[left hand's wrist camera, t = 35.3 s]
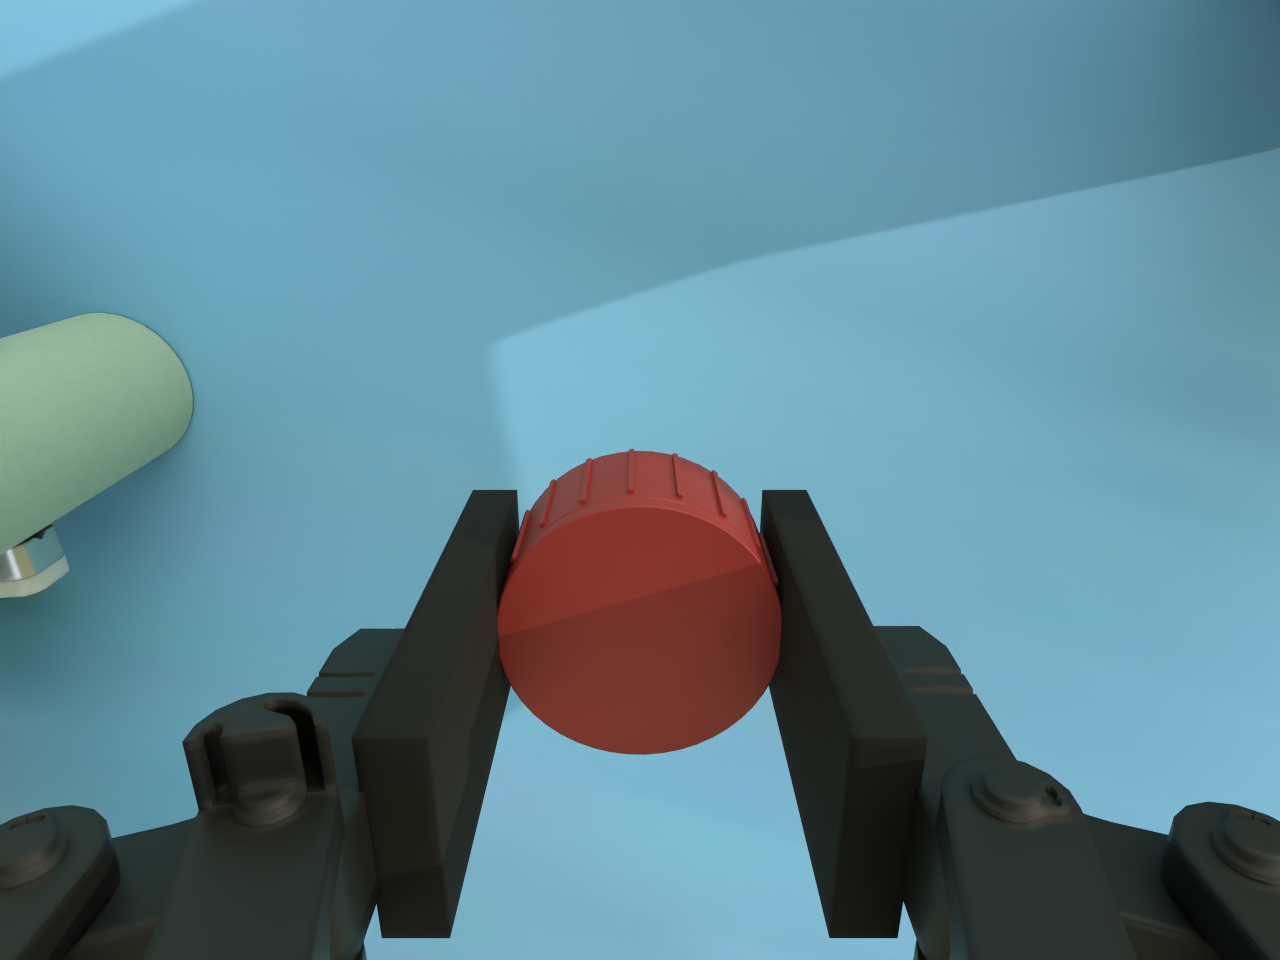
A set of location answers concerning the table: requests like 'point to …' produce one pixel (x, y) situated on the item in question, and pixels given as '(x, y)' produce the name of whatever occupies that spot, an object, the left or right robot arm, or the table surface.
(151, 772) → the table surface
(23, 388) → the bottle
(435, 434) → the table surface
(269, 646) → the table surface
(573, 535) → the cap
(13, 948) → the left robot arm
